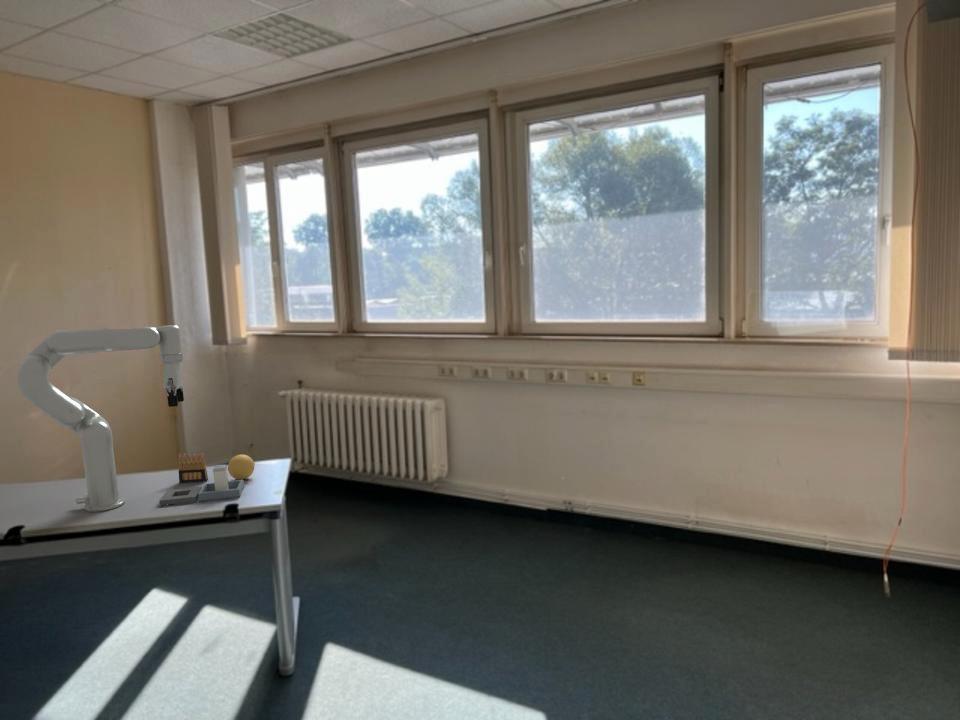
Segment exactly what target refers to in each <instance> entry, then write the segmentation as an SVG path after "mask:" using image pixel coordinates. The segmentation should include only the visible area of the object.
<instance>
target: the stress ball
mask: <svg viewBox="0 0 960 720" xmlns="http://www.w3.org/2000/svg"><path fill="white" fill-rule="evenodd" d="M254 471H255V460H253V459H252V457H250V455H248V454H237V455H235V456H234V457H232V458H231V459H230V460H229V462H228V464H227V472H228V473H229V475H230V476H231V477H232V478H233V479H234V480H235V479H236V480H243V479H245V480H246V479H248V478H249V477H251V476H252V474H253V472H254Z"/></svg>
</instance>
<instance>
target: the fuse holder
mask: <svg viewBox="0 0 960 720" xmlns="http://www.w3.org/2000/svg"><path fill="white" fill-rule="evenodd" d="M202 487H203V486H193V487H186V488H176V489H175V488H174V489H167V490H166V491H165V493H164V494H163V495H162V496H161V498H160V499H159V501H158V503H159V506H160V505H165V506H168V505H167V504H174V505H180V504H179V503H183V504H190V502H192V503H197V501H198V500H199V498H198V493H199V492H200V490H201V488H202ZM197 499H198V500H197Z"/></svg>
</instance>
